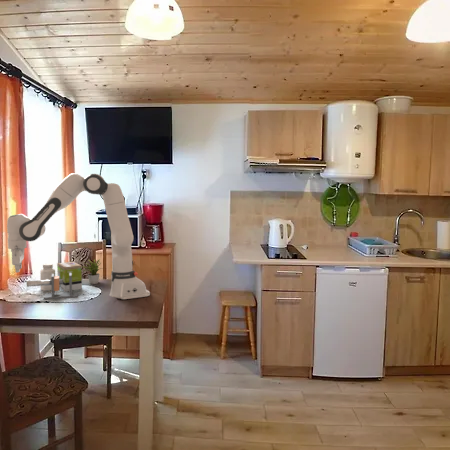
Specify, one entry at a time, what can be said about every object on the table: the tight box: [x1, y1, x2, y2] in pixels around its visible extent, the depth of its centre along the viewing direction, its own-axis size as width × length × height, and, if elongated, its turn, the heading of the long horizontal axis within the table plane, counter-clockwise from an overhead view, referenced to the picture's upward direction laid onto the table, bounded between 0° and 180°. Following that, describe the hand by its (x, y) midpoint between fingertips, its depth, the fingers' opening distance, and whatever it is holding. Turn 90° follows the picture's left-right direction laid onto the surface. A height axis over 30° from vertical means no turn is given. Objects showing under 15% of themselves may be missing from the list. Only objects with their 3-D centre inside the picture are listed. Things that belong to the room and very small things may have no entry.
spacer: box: [54, 275, 61, 292], centre depth 221 cm, size 3×7×7 cm, turn 21°
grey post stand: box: [43, 273, 78, 300], centre depth 222 cm, size 17×10×12 cm, turn 111°
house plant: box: [81, 258, 104, 285], centre depth 252 cm, size 14×14×16 cm
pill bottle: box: [39, 263, 56, 291], centre depth 236 cm, size 8×8×15 cm
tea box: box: [56, 261, 83, 292], centre depth 240 cm, size 15×10×15 cm
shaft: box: [26, 279, 63, 288], centre depth 219 cm, size 18×3×3 cm, turn 111°
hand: (18, 270), depth 214 cm, fingers open, 8 cm apart
